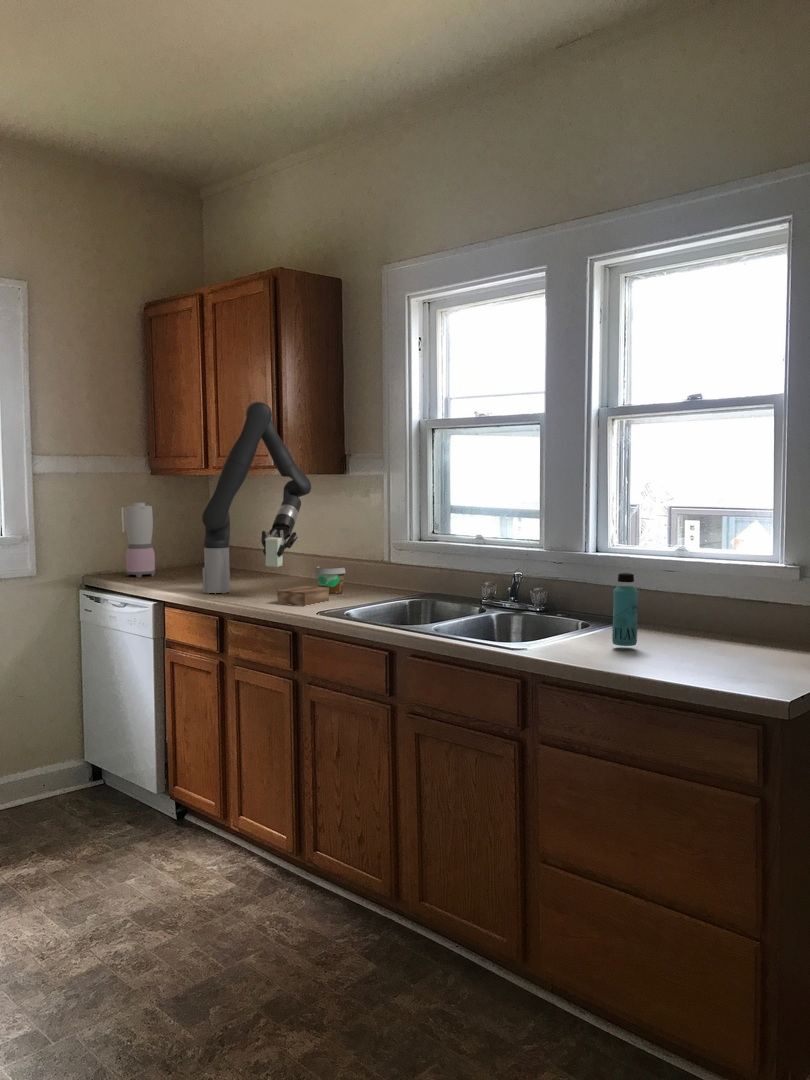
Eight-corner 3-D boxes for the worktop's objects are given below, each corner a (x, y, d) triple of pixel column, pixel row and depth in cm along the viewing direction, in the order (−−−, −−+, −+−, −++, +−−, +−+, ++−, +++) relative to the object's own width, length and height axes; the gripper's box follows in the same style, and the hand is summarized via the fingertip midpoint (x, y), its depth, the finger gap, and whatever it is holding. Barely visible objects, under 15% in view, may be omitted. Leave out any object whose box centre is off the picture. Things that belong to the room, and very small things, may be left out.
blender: (160, 575, 389) (158, 502, 386) (134, 578, 380) (132, 503, 378) (144, 572, 400) (141, 501, 398) (118, 574, 392) (116, 502, 389)
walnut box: (277, 604, 309) (276, 590, 309) (302, 599, 321) (301, 585, 321) (305, 607, 303) (304, 592, 302) (329, 601, 315) (329, 587, 315)
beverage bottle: (610, 650, 229) (611, 574, 228) (613, 645, 236) (614, 571, 234) (635, 652, 227) (637, 575, 225) (638, 647, 233) (640, 572, 232)
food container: (309, 594, 332) (308, 567, 331) (318, 592, 337) (317, 566, 337) (337, 596, 326) (336, 569, 325) (345, 594, 332) (345, 567, 331)
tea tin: (265, 566, 320) (265, 538, 319) (270, 564, 325) (270, 537, 324) (277, 566, 319) (277, 538, 318) (282, 565, 323) (283, 537, 323)
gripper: (264, 512, 329) (250, 547, 319) (300, 513, 325) (287, 549, 315) (270, 525, 335) (257, 560, 324) (306, 527, 331) (293, 562, 320)
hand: (272, 554), depth 320 cm, fingers closed on tea tin, 4 cm apart
